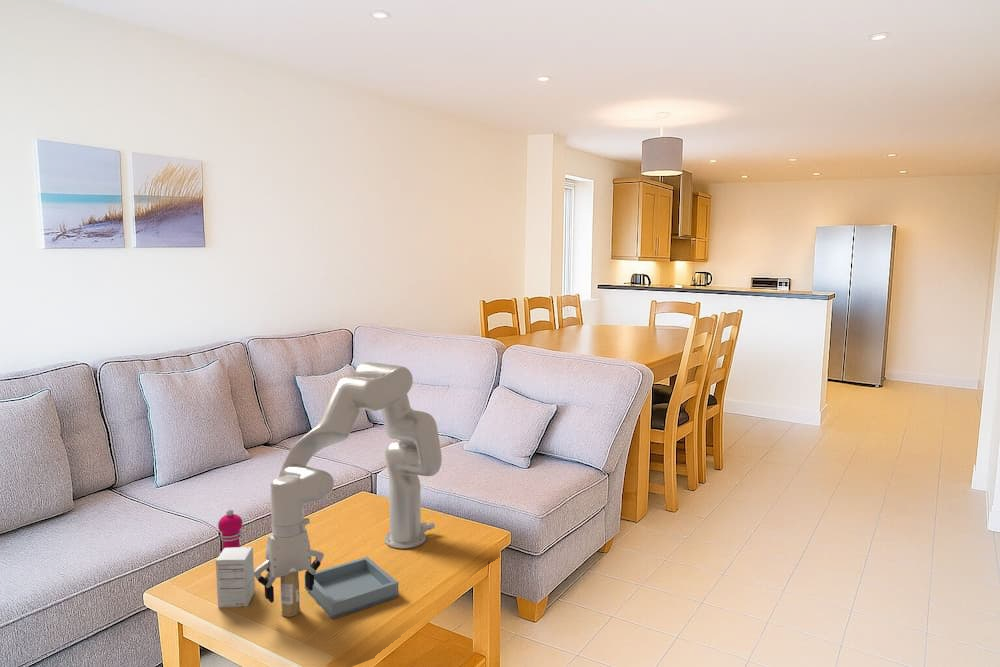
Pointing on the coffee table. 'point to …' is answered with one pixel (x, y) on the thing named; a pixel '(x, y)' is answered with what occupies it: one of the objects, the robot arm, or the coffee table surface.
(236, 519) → the pepper mill
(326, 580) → the tray
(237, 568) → the supplement box
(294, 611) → the sprinkles bottle
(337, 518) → the coffee table surface
